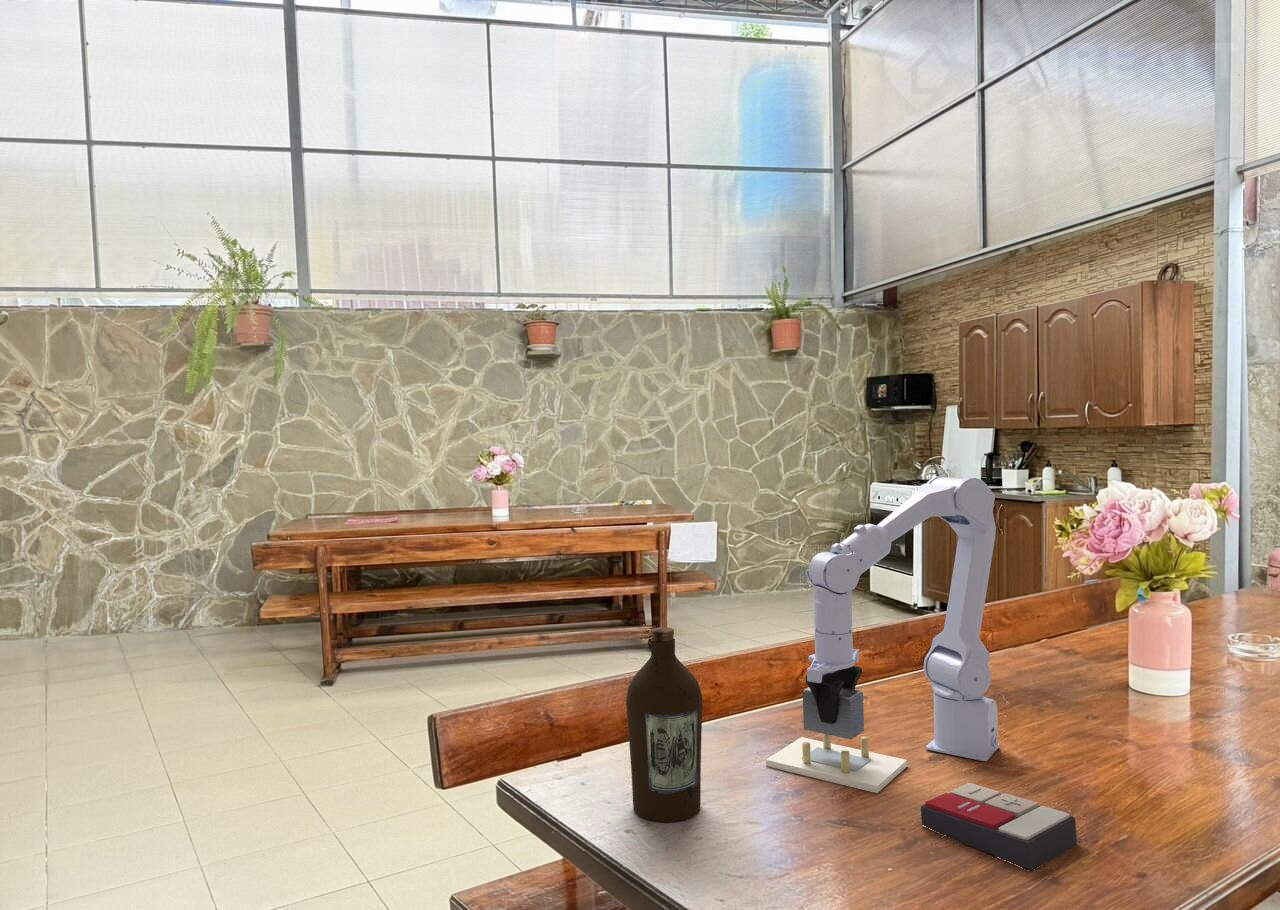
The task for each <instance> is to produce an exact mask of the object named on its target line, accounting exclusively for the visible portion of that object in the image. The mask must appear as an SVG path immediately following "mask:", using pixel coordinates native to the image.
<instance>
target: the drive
mask: <svg viewBox="0 0 1280 910" xmlns="http://www.w3.org/2000/svg"><path fill="white" fill-rule="evenodd" d="M802 712H803V713H802V714H803V715H802V718H803V721H802V722H803V730H804V731H810V732H814V733H819V734H822V735H823V734H828V735H831V737H832V736H833V737H838V738H842V739H845V740H846V739H847V740H851V741H852V740H853V739H855V738H856V737H857V736H859V735H860V734H862V733H864V732H865V713H864V712H865V711H864V691H863V692H862V690H859V689H858V690H857V689H855V690H853V689H848V688H841V691H840V694H839V698H838V706H837V716H836V721H835V723H834V724H829V723H824V722H821V720H820V716H819V712H818V709H817V705H816V702H815V699H814V696H813V694H812V692H811V690H810V688H809V686H808V687H807V688H804V689H803V690H802Z"/></svg>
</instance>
